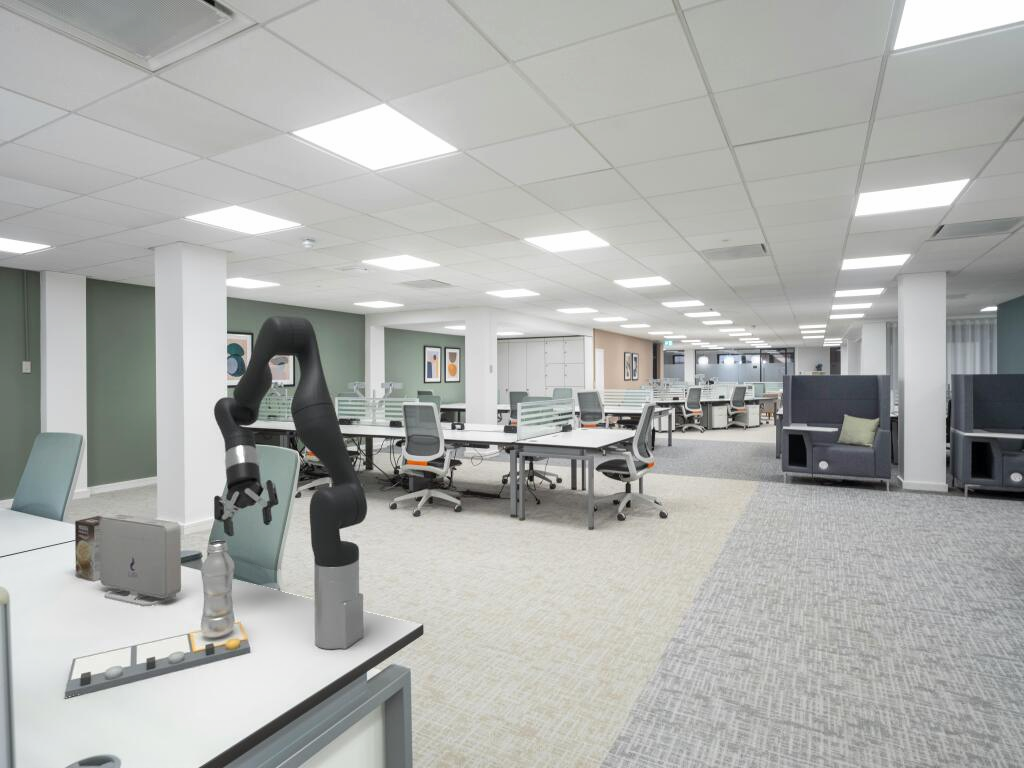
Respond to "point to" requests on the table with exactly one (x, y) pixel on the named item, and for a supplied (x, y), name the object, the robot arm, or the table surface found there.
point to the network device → (140, 558)
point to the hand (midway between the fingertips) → (248, 529)
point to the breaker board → (152, 659)
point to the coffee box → (87, 548)
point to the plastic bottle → (217, 591)
